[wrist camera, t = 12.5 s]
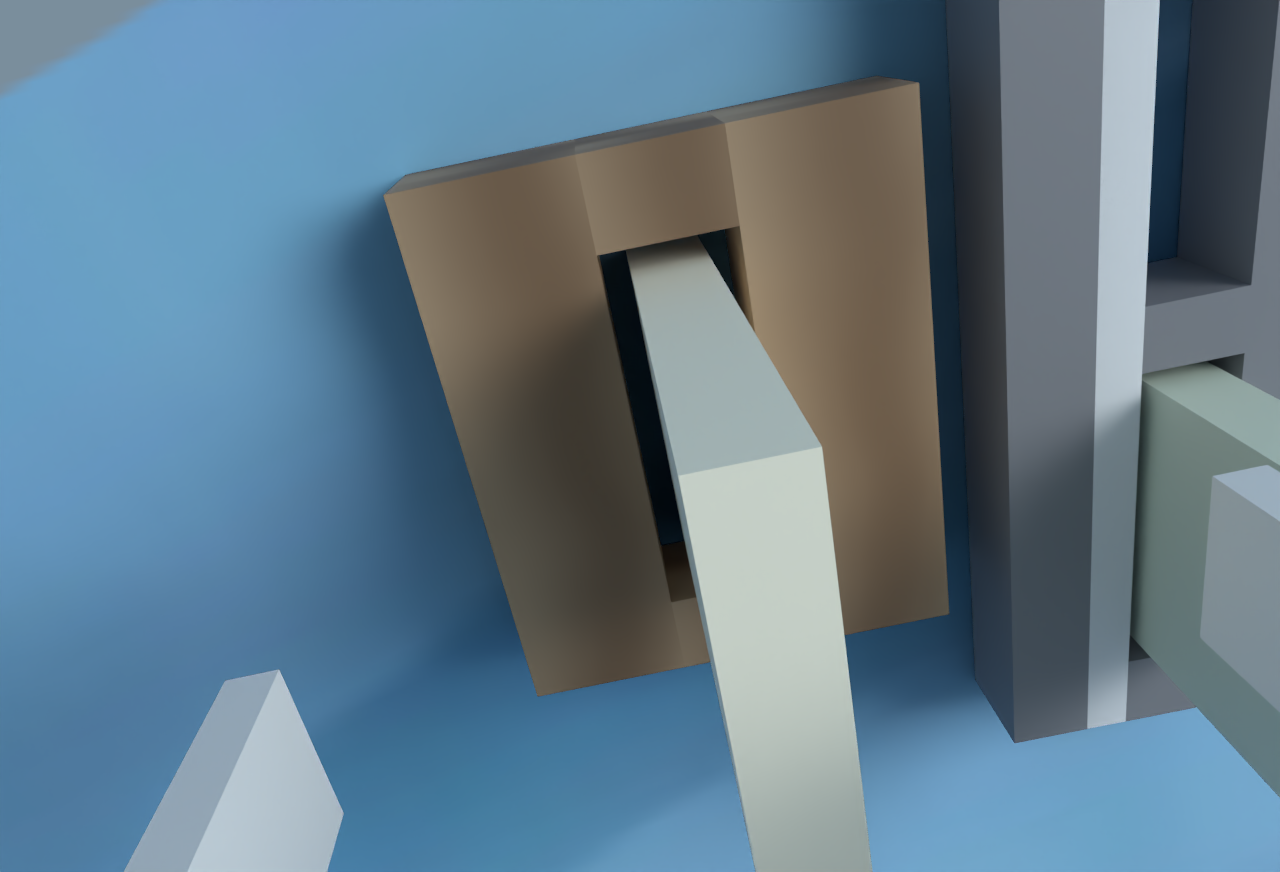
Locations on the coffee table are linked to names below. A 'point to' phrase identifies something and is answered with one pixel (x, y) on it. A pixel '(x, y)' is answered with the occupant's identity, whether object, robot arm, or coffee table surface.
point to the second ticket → (1197, 539)
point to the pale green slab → (756, 563)
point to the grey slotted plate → (1093, 316)
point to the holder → (594, 376)
